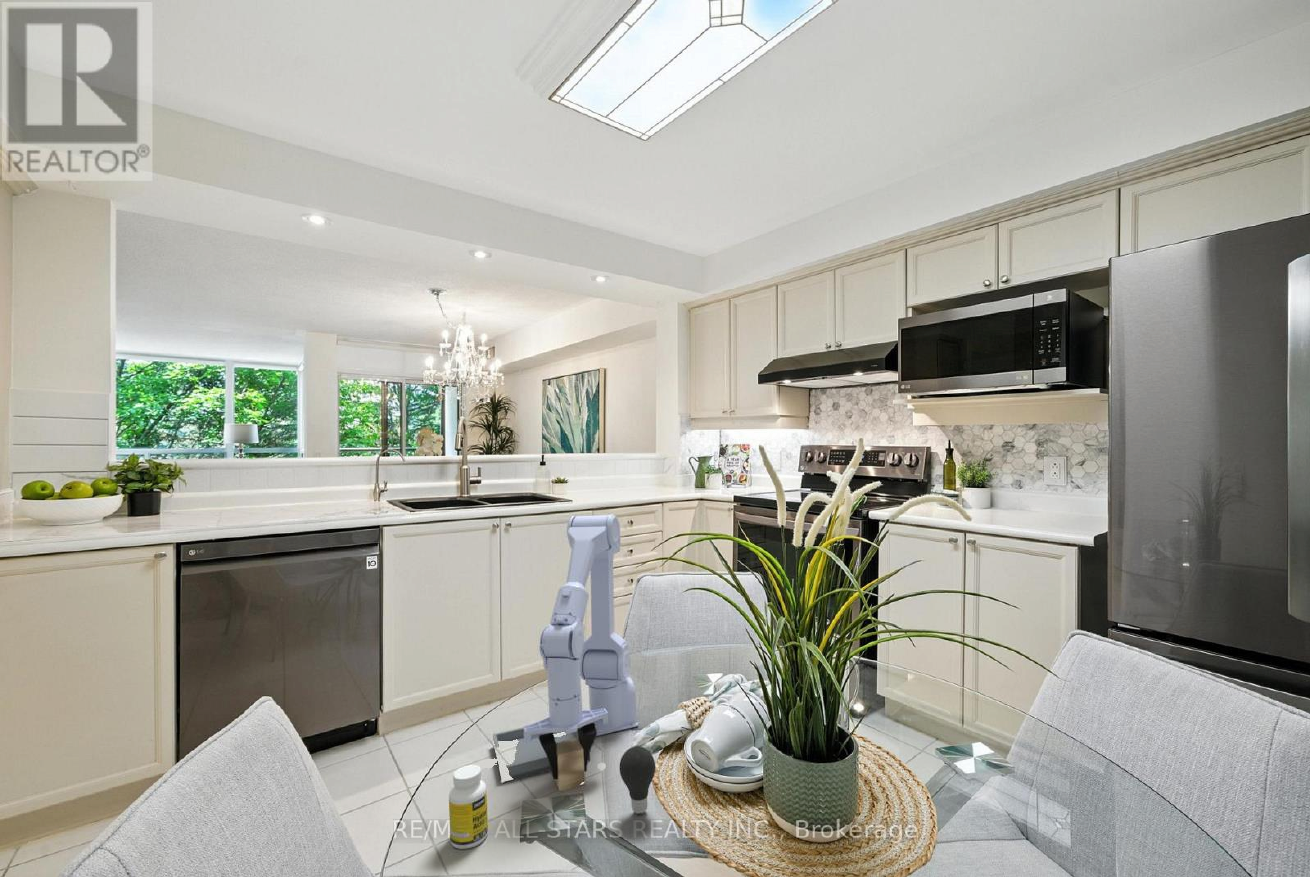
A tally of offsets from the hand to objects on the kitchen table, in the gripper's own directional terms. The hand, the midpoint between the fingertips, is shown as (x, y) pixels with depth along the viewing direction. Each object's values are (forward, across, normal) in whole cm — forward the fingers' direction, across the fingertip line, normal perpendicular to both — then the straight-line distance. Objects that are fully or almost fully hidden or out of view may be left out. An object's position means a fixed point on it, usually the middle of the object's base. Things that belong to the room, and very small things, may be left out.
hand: (569, 772), depth 99 cm
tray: (+1, -3, +12) cm, 12 cm away
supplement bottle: (+2, -17, -8) cm, 19 cm away
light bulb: (+2, +8, -14) cm, 16 cm away
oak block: (+1, 0, 0) cm, 1 cm away
